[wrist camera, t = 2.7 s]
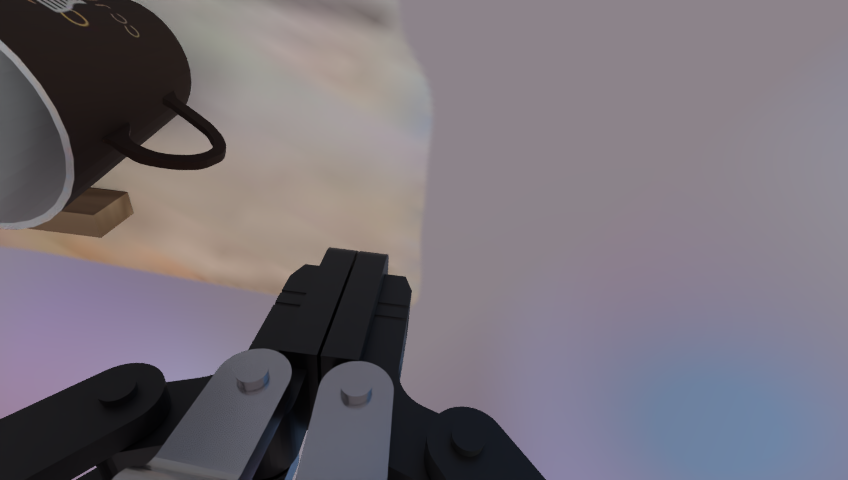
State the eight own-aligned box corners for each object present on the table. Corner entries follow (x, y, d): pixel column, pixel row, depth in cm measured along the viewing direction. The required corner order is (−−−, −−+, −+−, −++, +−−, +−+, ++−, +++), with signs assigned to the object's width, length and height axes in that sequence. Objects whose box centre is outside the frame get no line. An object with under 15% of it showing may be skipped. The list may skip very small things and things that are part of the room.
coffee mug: (26, 67, 24) (-213, 124, 16) (78, -77, 20) (-198, -106, 12) (214, 202, 28) (105, 307, 19) (289, 100, 24) (193, 175, 15)
